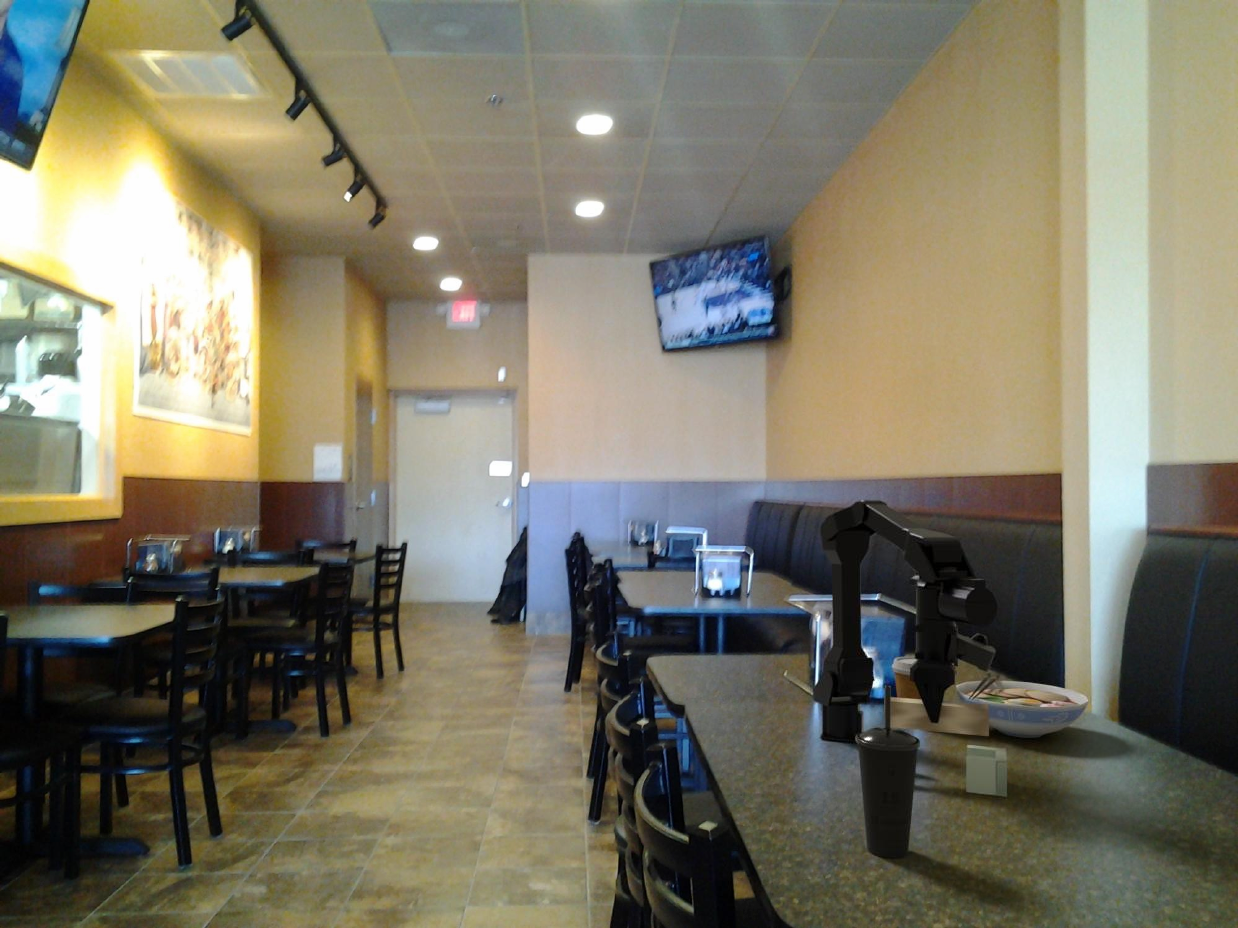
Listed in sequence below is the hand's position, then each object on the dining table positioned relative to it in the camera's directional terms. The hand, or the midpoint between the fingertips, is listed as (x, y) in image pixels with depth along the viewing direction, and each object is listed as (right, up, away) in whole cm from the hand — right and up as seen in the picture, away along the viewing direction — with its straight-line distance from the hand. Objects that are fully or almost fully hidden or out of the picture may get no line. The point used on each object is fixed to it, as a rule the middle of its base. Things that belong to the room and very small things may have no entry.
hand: (935, 720), depth 143 cm
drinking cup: (-16, -8, -29) cm, 34 cm away
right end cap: (+6, -9, -3) cm, 11 cm away
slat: (0, -1, 0) cm, 1 cm away
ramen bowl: (+26, -11, +29) cm, 40 cm away
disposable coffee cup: (+8, -11, +35) cm, 37 cm away
